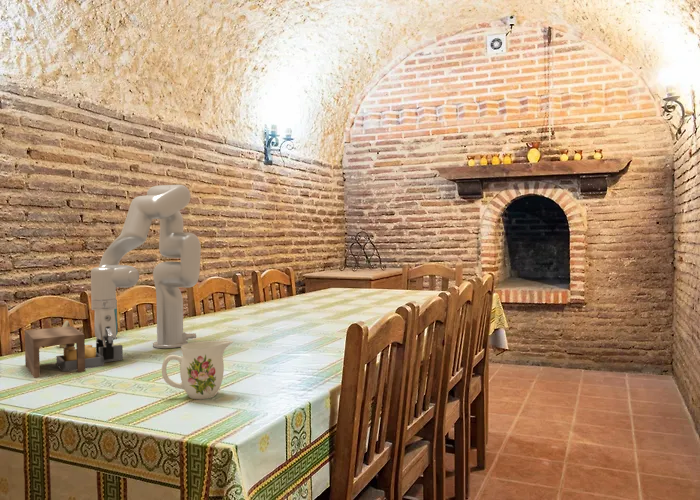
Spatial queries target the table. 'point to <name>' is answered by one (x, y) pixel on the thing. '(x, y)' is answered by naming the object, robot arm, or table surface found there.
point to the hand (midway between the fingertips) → (104, 356)
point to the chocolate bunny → (66, 324)
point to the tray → (90, 360)
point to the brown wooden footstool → (50, 338)
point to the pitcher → (199, 368)
